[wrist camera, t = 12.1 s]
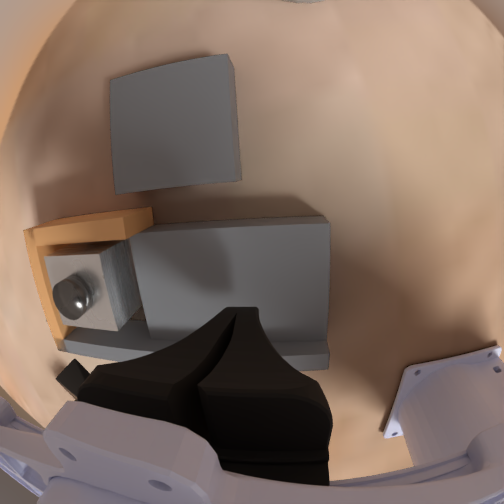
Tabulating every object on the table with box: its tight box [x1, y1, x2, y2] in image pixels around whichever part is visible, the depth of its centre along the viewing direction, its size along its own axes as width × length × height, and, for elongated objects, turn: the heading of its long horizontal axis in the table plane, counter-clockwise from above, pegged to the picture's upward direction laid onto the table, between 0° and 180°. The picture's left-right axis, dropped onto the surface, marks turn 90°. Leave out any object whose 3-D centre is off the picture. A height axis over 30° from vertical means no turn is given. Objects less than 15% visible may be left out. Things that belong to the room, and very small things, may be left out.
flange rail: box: [23, 207, 330, 371], centre depth 14 cm, size 16×8×3 cm, turn 94°
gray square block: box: [110, 54, 242, 195], centre depth 13 cm, size 6×6×2 cm
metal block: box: [44, 238, 143, 331], centre depth 14 cm, size 4×4×5 cm
